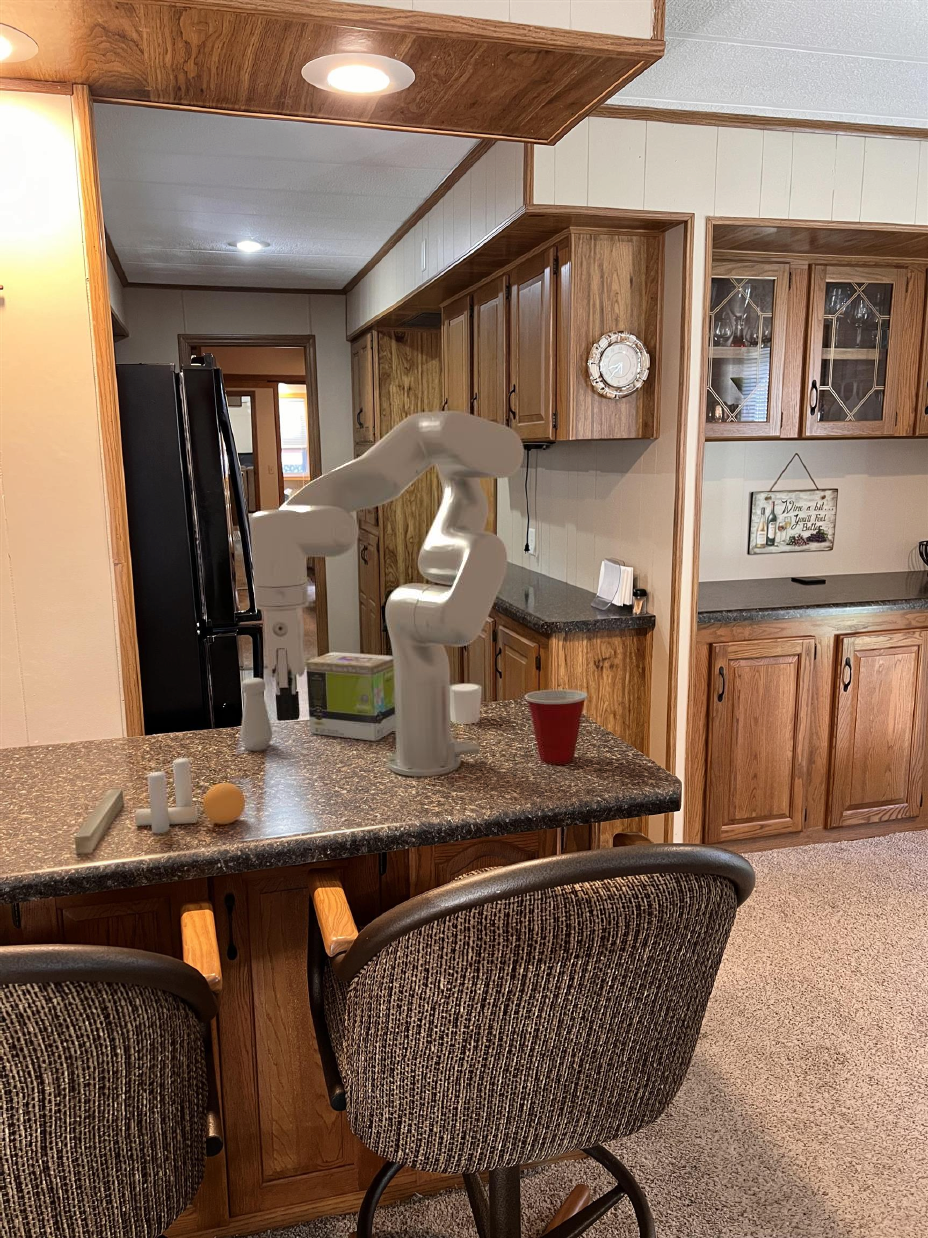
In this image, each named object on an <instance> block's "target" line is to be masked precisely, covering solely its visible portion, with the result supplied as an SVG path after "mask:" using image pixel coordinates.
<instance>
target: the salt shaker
mask: <svg viewBox="0 0 928 1238" xmlns="http://www.w3.org/2000/svg"><path fill="white" fill-rule="evenodd" d="M265 691H266V682H265V680H264V679H263V678H260V677H250V678H247V679H244V680H243V681H242V682H241V692H242V693H243V694H244V703H243V711H242V718H241V728H240V729H241V730H240V740H241V741H242V743H243V745H244V747H245V748H246V750H248V751H251V752H252V751H253V752H254V751H255V752H256V751H257V752H258V751H259V752H260V751H263V750H266V749H268V747H270V746H269V745H270V743H271V741H272V739H273V731H272V726H271V723H270V717H269V714H268V713H269V712H268V710H267V705H266V701H265V697H264V693H263V692H265Z"/></svg>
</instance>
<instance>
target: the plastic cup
mask: <svg viewBox="0 0 928 1238" xmlns="http://www.w3.org/2000/svg"><path fill="white" fill-rule="evenodd" d="M588 695H589V694H587V692H585V691H582V690H575V689H574V690H573V689H545V690H536V691H532V692H529V693H526V694H525V695H524V699H525V700H526V702H527V705H528V708H529V711H530V715H531V720H532V725H533V731H534V736H535V737H534V738H535V741H536V744H537V750H538V756H539V758H540V759H541V760H540V759H539V760H540V761H541V762H542V761H543V762H542V763H544V762H545V763H544V764H546V763H548V765H550V764H564V765H568V764H570V763H572V762H573V761H572V760H574V757H575V754H576V746H577V743H578V737H579V731H580V725H581V720H582V713H583V711H584V710H583V708H584V705H585V702H586V699H587V698H588ZM571 761H572V762H571ZM569 762H570V763H569ZM567 763H568V764H567Z"/></svg>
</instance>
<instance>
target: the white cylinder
mask: <svg viewBox="0 0 928 1238" xmlns="http://www.w3.org/2000/svg"><path fill="white" fill-rule="evenodd" d="M482 690H483V689H482V686H481V685H480V684H476V683H471V682H470V683H466V682H465V683H462V682H461V683H455V684H450V715H451V721H452V722H454V723H453V724H455V723H458V724H457V725H459V724H469V725H472V724H471V723H475V724H477V723H479V722H480V714H481V713H480V712H481V702H482V701H481V700H482ZM478 721H479V722H478ZM476 722H477V723H476Z"/></svg>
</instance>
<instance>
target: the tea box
mask: <svg viewBox="0 0 928 1238" xmlns="http://www.w3.org/2000/svg"><path fill="white" fill-rule="evenodd" d="M305 670H306V685H307V701H308V702H307V703H308V716H309V717H308V718H309V732H310V734H313V735H314V734H315V735H323V736H329V737H330V736H332V737H338V738H349V739H355V740H357V739H358V740H365V741H371V742H376V741H379V740H381V739H383V738H384V736H385V737H387V736H388V735H389V734H388V733H390V732H392V731H393V732H395V731H396V730H395V729H396V726H395V699H394V668H393V655H383V654H372V653H371V654H370V653H357V652H356V653H355V652H342V651H341V652H340V651H332V652H329V653H326V654H324V655H320V656H318V657H315V658H312V659H309V660H306V667H305ZM394 730H395V731H394ZM393 732H392V733H393ZM387 734H388V735H387ZM390 734H391V733H390ZM382 737H383V738H382Z"/></svg>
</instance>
